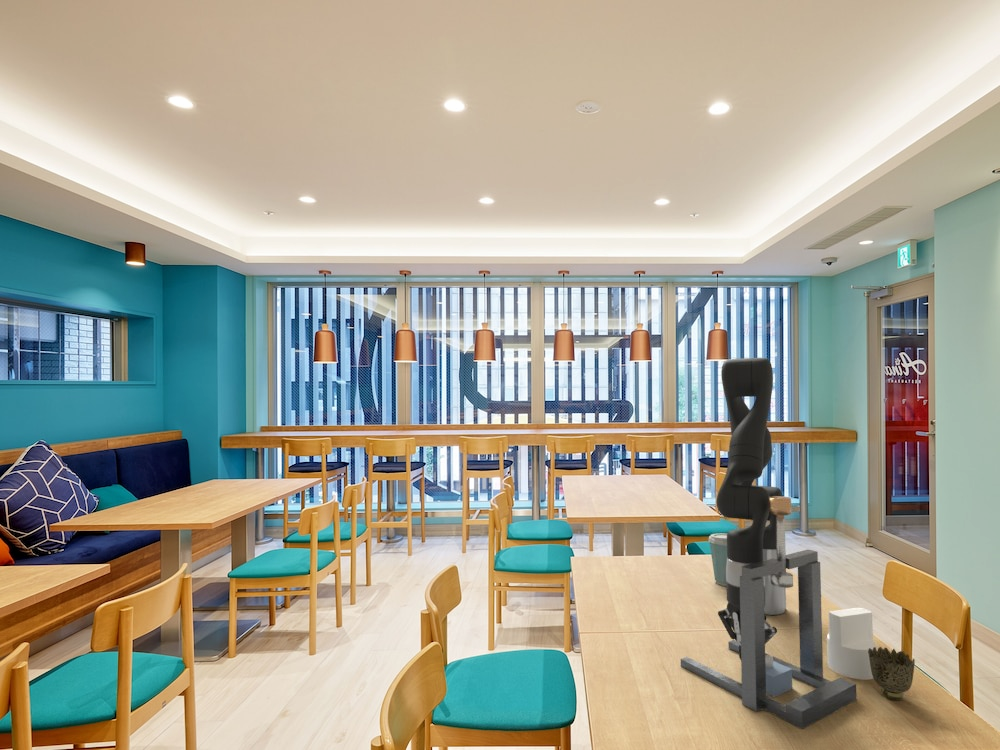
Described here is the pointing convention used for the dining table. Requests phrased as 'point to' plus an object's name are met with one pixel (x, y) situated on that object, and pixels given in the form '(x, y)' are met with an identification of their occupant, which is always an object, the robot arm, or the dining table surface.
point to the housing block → (777, 677)
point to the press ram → (781, 538)
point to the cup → (891, 671)
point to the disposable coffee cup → (719, 556)
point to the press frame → (753, 658)
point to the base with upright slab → (850, 642)
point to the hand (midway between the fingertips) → (747, 663)
